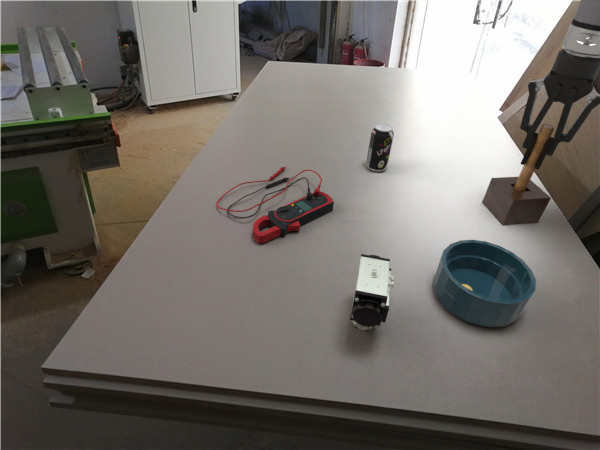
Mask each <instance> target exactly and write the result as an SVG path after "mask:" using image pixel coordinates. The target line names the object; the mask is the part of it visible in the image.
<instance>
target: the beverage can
mask: <svg viewBox="0 0 600 450" xmlns="http://www.w3.org/2000/svg"><path fill="white" fill-rule="evenodd" d="M394 133H395V132H394V131H393V126H392V125H390V124H388V123H381V122H380V123H376V124H375V125H374V127H373V128H372V129H371V132H370V138H369V142H368V143H369V144H368V150H367V156H366V160H365V161H366V162H365V166H366V168H368V169H369V170H370V171H373V172H382V171H385V170H387V168H388V166H389V165H388V164H389V161H390V160H389V159H390V155H391V150H392V145H393V140H394V136H395V134H394Z"/></svg>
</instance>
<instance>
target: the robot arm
mask: <svg viewBox="0 0 600 450" xmlns="http://www.w3.org/2000/svg"><path fill="white" fill-rule="evenodd" d="M561 47H562V49H561V50H559V51H558V53H557V56H556V57H555V59H554V62H553V64H552V67H551V69H550V71H549V73H548V74H546V75H545V77H544V78H540V79H531V80H530V82H529V83H528V85H527V89H528V96H527V100H526V104H525V108H524V111H523V115H522V120H521V122H520V126H519V128H520V130H521V131H524V132H525V133H526V136H525V138H524V140H523V142H522V146H521V147H522V149H525V152H524V154H523V157H522V159H521V161H520V165H523V166H524V164H525V162H526V160H527V158H528V155H529V153H530V151H531V149H532V147H533V144H534V142H535V140H536V138H537V135H538V133H539V132H537V130H538V128H539V127H540V125H541V123H542V121H543V120H544V118H545V117H546V115H547V113H548V112H549V110H550V108H551V107H552V105H553V104H554V103H561V104H563V108H562V110H561V114H560V117H559V121H558V123H557V127H556V130H555V132H554V136H553V137H552V136H551V137H550V139H549V140H548V142H547V145H546V147H545V149H544V151H543V153H542V155H541V157H540V159H539V161H538V164H537V166H536V168H535V170H540V169H541V167H542V164H543V162H544V161H545V158H546V156H549V157H552V156H553V155H554V153H555V151H556V149H557V148H558V146H559V144H560V143H570V142H571V141H572V140H573V138H574V137H575V135H576V134H577V132H578V130H579V129H580V128H581V127H582V125H583V124H584V122H585V121H586V120H587V118H588V116H589V115H590V114H591V112H592V111H593V110H594V109H595V108H596V107H597V106H599V105H600V93H598V92H597V90H595V89H594V87H595V83H594V82H595V81H596V78H597V76H598V74H599V71H600V0H580V1H579V4H578V7H577V8H576V11H575V14H574V16H573V19H572V20H571V22H570V25H569V27H568V29H567V32H566V34H565V37H564V39H563V41H562V44H561ZM543 86H544V89H545V93H546V95H547V99H546V101H545V103H544V104H543V106H542V107H541V110H540V111H539V112H538V114H537V116H536V117H535V119H534V121H533V122H532V124H531V123H530V121H531V118H532V114H533V111H534V107H535V104H536V100H537V97H538V96H537V95H538V92H540V91H541V90H542V87H543ZM586 96H587V98H586V104H585V106H584V108H582V110H581V112H580V113H579V115H578V116H577V118H576V119H575V121H574V122H573V124H572V125H571V126H570V127H569V130H568V131H567V133H564V131H565V128H566V125H567V122H568V119H569V117H570V113H571V110H572V107H573V105H574V103H576V102H578V101H580V100H581V99H583V98H584V97H586Z"/></svg>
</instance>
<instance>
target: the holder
mask: <svg viewBox="0 0 600 450" xmlns="http://www.w3.org/2000/svg"><path fill="white" fill-rule="evenodd" d="M518 177H519V176H504V177H491V179H490V181H489V183H488V186H487V189H486V190H485V194H484V196H483V198H482V201H481V203H482V204H483V205H484V206H485V208H487V210H488V211H489V212H490V213H491V214H492V215H493V216H494V217H495V219H496V220H497V221H498V222H499V223H500V224H501V225H502V226H507V225H508V226H509V225H523V224H524V225H525V224H537V223H539V222H540V220H541V218H542V217H543V214H544V212H545V210H546V209H547V207H548V204H549V203H550V201H551V199H552V197H551V196H550V195H548V194H547V192H545V191H544V190H543V189H542V188H541V187H539V186H538V185H537V184H536V183H535V182H534V181H533V180H532V179H530V181H529V183H528V185H527V187H526V189H525V191H524V192H518V191H517V190H516V189H515V188H514V186H515V184H516V181H517V179H518Z"/></svg>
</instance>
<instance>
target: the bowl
mask: <svg viewBox="0 0 600 450" xmlns="http://www.w3.org/2000/svg"><path fill="white" fill-rule="evenodd" d="M533 272H534V271H533V270H532V269H531V268H530V266H529V265H528V264H527V263H526V262H525V260H523V259H522V258H521V257H519V256H518V255H517V254H515V253H514V252H512V251H510V250H509V249H507V248H505V247H502V246H501V245H498V244H495V243H492V242H489V241H485V240H478V239H461V240H458V241H454V242H452V243H450V244H449V245H448V246H446V247H445V248H444V249H443V251H442V254H441V257H440V259H439V262H438V265H437V268H436V270H435V273H434V276H433V278H432V285H433V291H434V294H435V295H436V297H437V299H438V300H439V302H440V303H441V304H442V305H443V307H444V308H445V309H446V310H447V311H448V312H449V313H451V315H454V316H455V317H456V318H458V319H459V320H462V321H464V322H466V323H468V322H469V324H472V325H475V326H479V327H484V328H498V327H507V326H508V325H510V324H512V323H514V322H516V321H518V319H519V317H520V316H521V315H522V313H523V312H524V310H525V309H526V307H527V305H528V303H529V302H530V300H531V298H532V297H533V296H534V293H536V285H537V279H536V278H535V275H534V273H533ZM462 284H467V285H469V286H470V287H471V288H472V290H473V291H471V290H469V289H468V288H466V287H464V286H463V285H462Z"/></svg>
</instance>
